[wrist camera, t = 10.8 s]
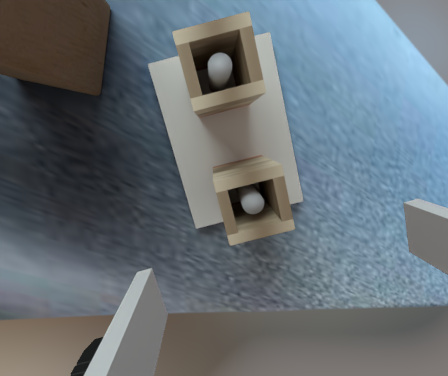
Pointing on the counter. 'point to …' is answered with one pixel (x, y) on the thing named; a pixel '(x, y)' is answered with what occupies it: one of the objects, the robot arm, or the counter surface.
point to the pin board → (225, 132)
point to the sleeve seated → (231, 46)
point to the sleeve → (271, 193)
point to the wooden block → (55, 42)
